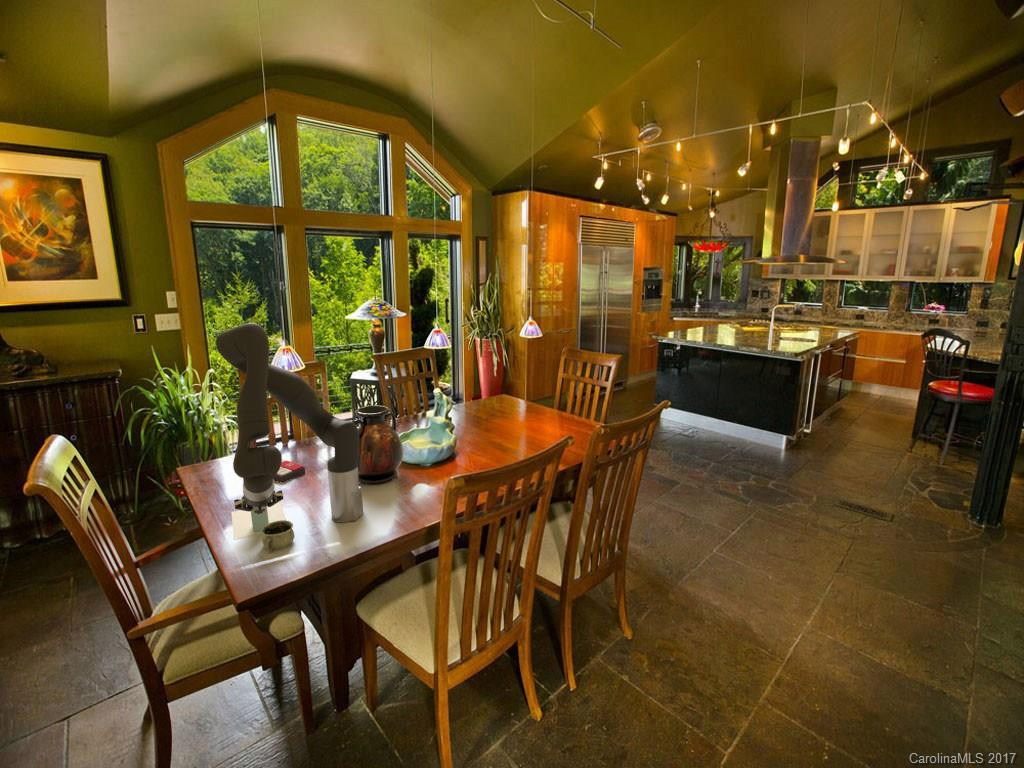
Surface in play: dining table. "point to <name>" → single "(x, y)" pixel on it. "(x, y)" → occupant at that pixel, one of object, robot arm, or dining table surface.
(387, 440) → the amphora vase
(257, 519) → the block
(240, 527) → the mat
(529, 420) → the dining table surface
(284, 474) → the calculator
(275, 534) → the vessel
